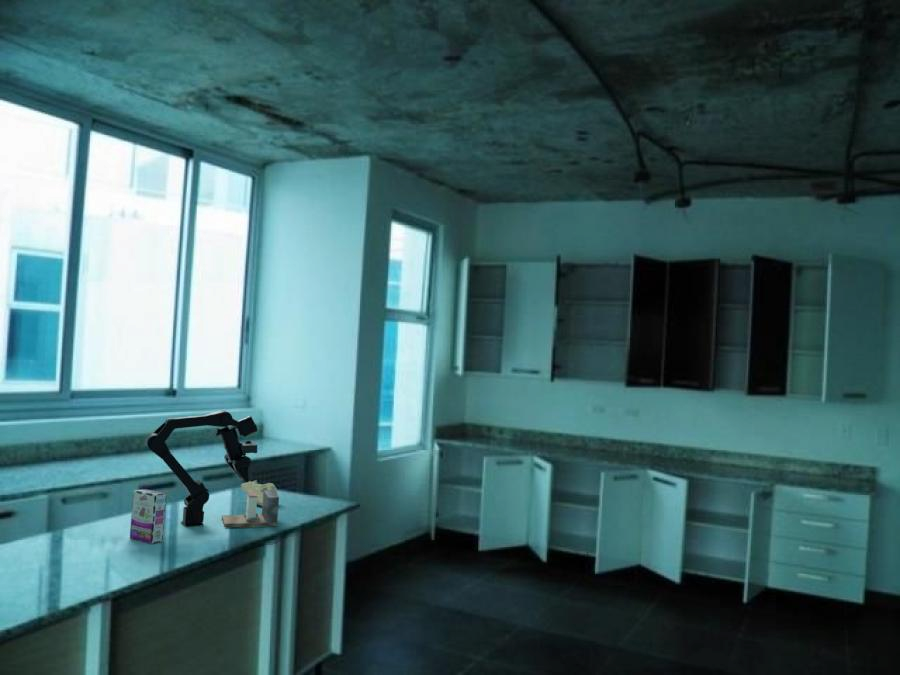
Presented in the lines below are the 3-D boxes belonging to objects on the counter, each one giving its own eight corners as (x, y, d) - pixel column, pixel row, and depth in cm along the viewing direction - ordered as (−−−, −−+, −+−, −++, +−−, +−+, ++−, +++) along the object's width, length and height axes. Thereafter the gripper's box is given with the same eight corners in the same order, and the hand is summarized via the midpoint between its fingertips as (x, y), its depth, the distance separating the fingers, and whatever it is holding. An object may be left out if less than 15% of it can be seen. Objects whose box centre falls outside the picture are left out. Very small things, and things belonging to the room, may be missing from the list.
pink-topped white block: (247, 520, 274) (249, 495, 274) (245, 516, 279) (247, 492, 280) (255, 520, 275) (257, 495, 275) (253, 516, 281) (255, 492, 281)
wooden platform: (224, 527, 267) (226, 497, 268) (221, 519, 280) (223, 490, 280) (276, 526, 275) (279, 497, 275) (271, 518, 287) (273, 490, 287)
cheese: (280, 511, 308) (280, 483, 319) (275, 501, 303) (275, 473, 314) (245, 520, 307) (246, 492, 318) (239, 510, 302) (240, 482, 313)
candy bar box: (163, 541, 245) (167, 492, 245) (151, 544, 241) (155, 495, 241) (141, 535, 250) (144, 487, 250) (128, 538, 246) (132, 489, 246)
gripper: (257, 437, 271) (270, 475, 274) (245, 430, 288) (258, 467, 290) (228, 448, 266) (242, 487, 269) (218, 441, 283) (231, 478, 285)
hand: (244, 479), depth 278 cm, fingers open, 9 cm apart
